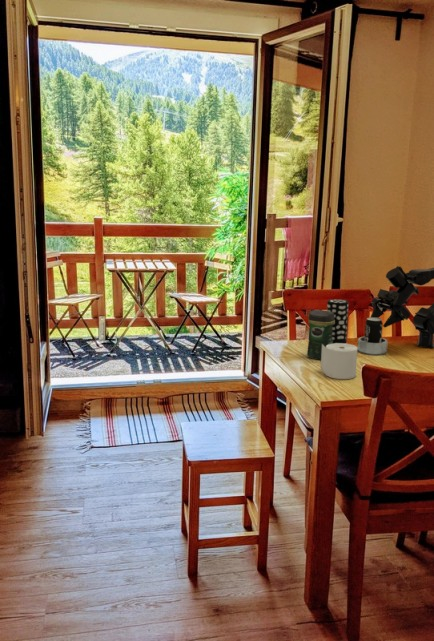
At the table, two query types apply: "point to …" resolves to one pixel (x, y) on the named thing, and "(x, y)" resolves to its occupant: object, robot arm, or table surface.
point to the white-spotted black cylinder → (339, 319)
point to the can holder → (372, 347)
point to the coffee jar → (319, 332)
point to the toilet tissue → (339, 360)
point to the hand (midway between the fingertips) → (376, 324)
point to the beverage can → (373, 330)
